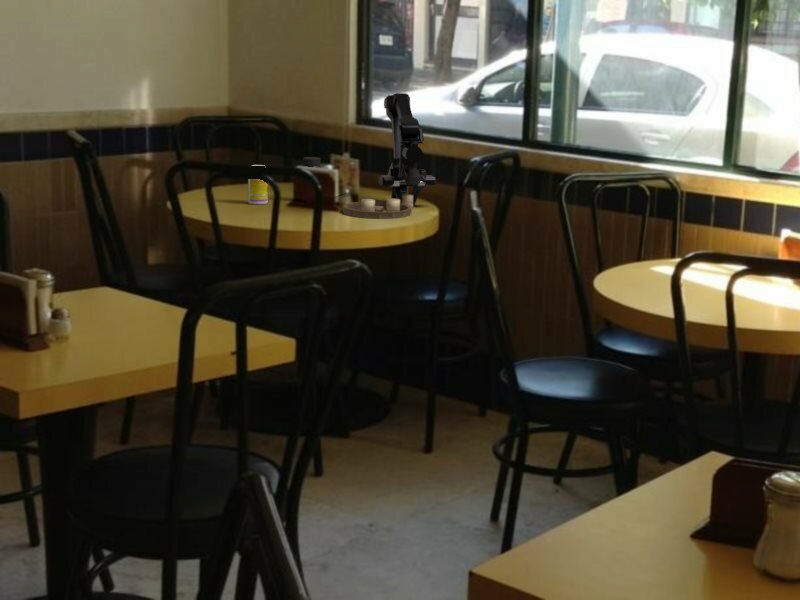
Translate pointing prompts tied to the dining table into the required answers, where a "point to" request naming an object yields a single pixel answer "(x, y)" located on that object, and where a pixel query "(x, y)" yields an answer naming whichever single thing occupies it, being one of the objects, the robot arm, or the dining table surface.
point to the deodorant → (311, 161)
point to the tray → (375, 215)
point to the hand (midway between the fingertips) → (406, 205)
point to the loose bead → (407, 199)
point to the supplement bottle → (257, 191)
